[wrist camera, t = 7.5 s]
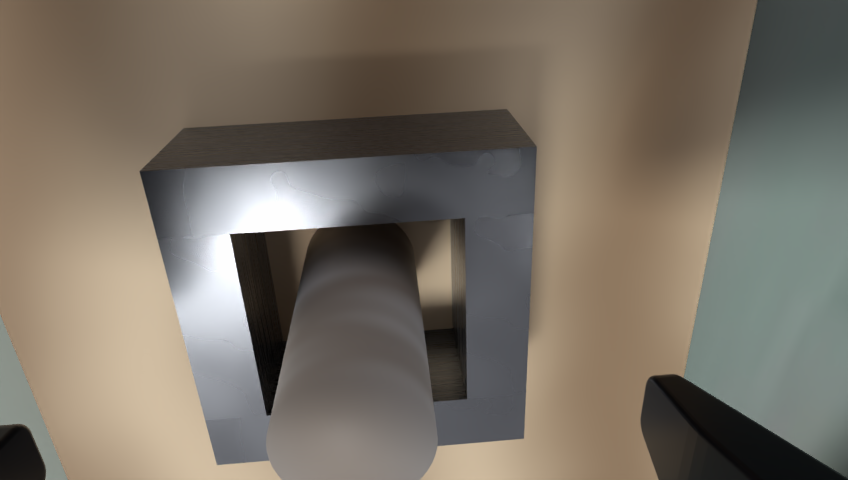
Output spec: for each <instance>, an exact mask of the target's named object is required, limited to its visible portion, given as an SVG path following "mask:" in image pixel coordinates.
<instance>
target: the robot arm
mask: <svg viewBox="0 0 848 480" xmlns="http://www.w3.org/2000/svg"><path fill="white" fill-rule="evenodd" d="M640 424H641V430H642V434H643V437H644V440H645V443H646V446H647V449H648V451H649V454H650V457H651V460H652V463H653V466H654V468H655V471H656V474H657V477H658V480H848V478H846V477H844V476H843V475H841V474H840V473H838V472H836V471H835V470H833V469H831V468H830V467H828V466H826V465H825V464H823V463H822V462H820V461H818V460H817V459H815V458H813V457H812V456H810V455H809V454H807V453H805V452H804V451H802V450H800V449H799V448H797V447H795V446H794V445H792V444H791V443H789V442H787V441H786V440H784V439H782V438H781V437H779V436H778V435H776V434H774V433H773V432H771V431H769V430H768V429H766V428H764V427H763V426H761V425H760V424H758V423H756V422H755V421H753V420H751V419H750V418H748V417H747V416H745V415H743V414H742V413H740V412H738V411H737V410H735V409H733V408H732V407H730V406H729V405H727V404H725V403H724V402H722V401H720V400H719V399H717V398H715V397H714V396H712V395H711V394H709V393H707V392H706V391H704V390H702V389H701V388H699V387H698V386H696V385H694V384H693V383H691V382H689V381H688V380H686V379H684V378H683V377H681V376H679V375H677V374H665V375H653V376H651V377H649V378H648V380H647V382H646V386H645V392H644V398H643V404H642V410H641V417H640ZM45 478H46V469H45V464H44V461H43V459H42V457H41V454H40V452H39V450H38V447H37V445H36V443H35V440H34V438H33V436H32V433H31V431H30V429H29V428H28V427H27V426H25V425H22V424H12V425H0V480H45Z"/></svg>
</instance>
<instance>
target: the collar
mask: <svg viewBox="0 0 848 480" xmlns="http://www.w3.org/2000/svg"><path fill="white" fill-rule="evenodd" d="M536 156H537V146H536V145H535V144H534V142H533V141H532V140H531V139H530V137H529V136H528V135H527V133H526V132H525V131H524V130H523V128H522V127H521V126H520V125H519V123H518V122H517V121H516V120H515V118H514V117H513V116H512V115H511V113H510V112H509V111H508V110H507V109H498V110H481V111H464V112H447V113H430V114H413V115H396V116H379V117H363V118H346V119H329V120H312V121H295V122H278V123H261V124H244V125H227V126H211V127H194V128H183V129H182V130H181V131H180V132H179V133H178V134H177V135H176V136H175V137H174V138H173V139H172V140H171V141H170V142H169V143H168V144H167V145H166V146H165V147H164V148H163V149H162V150H161V151H160V152H159V153H158V154H157V155H156V156H155V157H154V158H153V159H152V160H151V161H150V162H148V163H147V164H146V165H145V166H144V167H143V168H142V169H141V170H140V171H139V172H140V175H141V179H142V183H143V187H144V191H145V194H146V198H147V202H148V206H149V210H150V213H151V217H152V221H153V225H154V229H155V232H156V236H157V240H158V244H159V248H160V251H161V255H162V259H163V263H164V266H165V270H166V274H167V278H168V282H169V285H170V289H171V293H172V297H173V301H174V304H175V308H176V312H177V316H178V320H179V323H180V327H181V331H182V335H183V339H184V342H185V346H186V350H187V354H188V357H189V361H190V365H191V369H192V373H193V376H194V380H195V384H196V388H197V392H198V395H199V399H200V403H201V407H202V411H203V414H204V418H205V422H206V426H207V430H208V433H209V437H210V441H211V445H212V448H213V452H214V456H215V460H216V464H217V465H224V464H236V463H248V462H259V461H269V458H268V454H267V449H266V436H267V431H268V427H269V422H270V417H271V413H272V408H273V404H274V399H275V394H276V390H277V385H278V381H279V376H280V371H281V367H282V362H283V358H284V353H285V348H286V344H287V341H283V336H282V330H281V324H280V318H279V313H278V307H277V301H276V296H275V290H274V284H273V278H272V273H271V267H270V261H269V256H268V250H267V244H266V238H265V233H264V232H268V231H282V230H297V229H312V228H327V227H341V226H356V225H371V224H386V223H400V222H415V221H430V220H445V219H450V237H451V279H452V322H453V328H449V329H436V330H424V335H425V342H426V350H427V358H428V366H429V374H430V381H431V389H432V397H433V405H434V412H435V420H436V428H437V436H438V444H437V446H445V445H457V444H469V443H480V442H492V441H504V440H515V439H524V429H525V406H526V383H527V360H528V338H529V315H530V292H531V269H532V247H533V224H534V201H535V178H536Z"/></svg>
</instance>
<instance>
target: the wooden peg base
mask: <svg viewBox="0 0 848 480" xmlns="http://www.w3.org/2000/svg"><path fill="white" fill-rule="evenodd" d="M757 1H758V0H0V315H1V317H2V320H3V322H4V325H5V327H6V329H7V332H8V334H9V337H10V339H11V342H12V344H13V347H14V349H15V351H16V354H17V356H18V359H19V361H20V364H21V366H22V368H23V371H24V373H25V376H26V378H27V381H28V383H29V386H30V388H31V390H32V393H33V395H34V398H35V400H36V403H37V405H38V407H39V410H40V412H41V415H42V417H43V420H44V422H45V425H46V427H47V429H48V432H49V434H50V437H51V439H52V442H53V444H54V446H55V449H56V451H57V454H58V456H59V459H60V461H61V464H62V466H63V468H64V471H65V473H66V476H67V478H68V480H658V477H657V474H656V471H655V468H654V466H653V463H652V460H651V457H650V454H649V451H648V449H647V446H646V443H645V440H644V437H643V434H642V430H641V424H640V417H641V410H642V404H643V398H644V392H645V386H646V382H647V380H648V378H649V377H651V376H653V375H665V374H677V375H679V376H681V377H683V378H684V373H685V368H686V362H687V357H688V352H689V347H690V342H691V337H692V332H693V327H694V322H695V317H696V312H697V306H698V301H699V296H700V291H701V286H702V281H703V276H704V271H705V266H706V261H707V256H708V250H709V245H710V240H711V235H712V230H713V225H714V220H715V215H716V210H717V205H718V200H719V194H720V189H721V184H722V179H723V174H724V169H725V164H726V159H727V154H728V149H729V144H730V138H731V133H732V128H733V123H734V118H735V113H736V108H737V103H738V98H739V93H740V88H741V82H742V77H743V72H744V67H745V62H746V57H747V52H748V47H749V42H750V37H751V32H752V26H753V21H754V16H755V11H756V6H757ZM498 109H507V110H508V111H509V112H510V113H511V115H512V116H513V117H514V118H515V120H516V121H517V122H518V123H519V125H520V126H521V127H522V128H523V130H524V131H525V132H526V133H527V135H528V136H529V137H530V139H531V140H532V141H533V142H534V144H535V145H536V146H537V156H536V178H535V201H534V224H533V247H532V269H531V292H530V315H529V338H528V360H527V383H526V406H525V429H524V439H515V440H504V441H492V442H480V443H469V444H457V445H445V446H437V444H438V436H437V428H436V420H435V412H434V405H433V397H432V389H431V381H430V374H429V366H428V358H427V350H426V342H425V335H424V330H436V329H449V328H453V322H452V279H451V237H450V219H445V220H430V221H415V222H400V223H386V224H371V225H356V226H341V227H327V228H312V229H297V230H282V231H268V232H264V233H265V238H266V244H267V250H268V256H269V261H270V267H271V273H272V278H273V284H274V290H275V296H276V301H277V307H278V313H279V318H280V324H281V330H282V336H283V341H287V344H286V348H285V353H284V358H283V362H282V367H281V371H280V376H279V381H278V385H277V390H276V394H275V399H274V404H273V408H272V413H271V417H270V422H269V427H268V431H267V436H266V449H267V454H268V458H269V461H259V462H248V463H236V464H224V465H217V464H216V460H215V456H214V452H213V448H212V445H211V441H210V437H209V433H208V430H207V426H206V422H205V418H204V414H203V411H202V407H201V403H200V399H199V395H198V392H197V388H196V384H195V380H194V376H193V373H192V369H191V365H190V361H189V357H188V354H187V350H186V346H185V342H184V339H183V335H182V331H181V327H180V323H179V320H178V316H177V312H176V308H175V304H174V301H173V297H172V293H171V289H170V285H169V282H168V278H167V274H166V270H165V266H164V263H163V259H162V255H161V251H160V248H159V244H158V240H157V236H156V232H155V229H154V225H153V221H152V217H151V213H150V210H149V206H148V202H147V198H146V194H145V191H144V187H143V183H142V179H141V175H140V172H139V171H140V170H141V169H142V168H143V167H144V166H145V165H146V164H147V163H148V162H150V161H151V160H152V159H153V158H154V157H155V156H156V155H157V154H158V153H159V152H160V151H161V150H162V149H163V148H164V147H165V146H166V145H167V144H168V143H169V142H170V141H171V140H172V139H173V138H174V137H175V136H176V135H177V134H178V133H179V132H180V131H181V130H182V129H183V128H194V127H211V126H227V125H244V124H261V123H278V122H295V121H312V120H329V119H346V118H363V117H379V116H396V115H413V114H430V113H447V112H464V111H481V110H498Z"/></svg>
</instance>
